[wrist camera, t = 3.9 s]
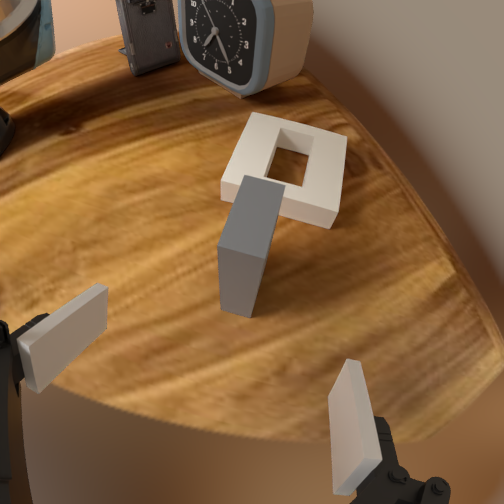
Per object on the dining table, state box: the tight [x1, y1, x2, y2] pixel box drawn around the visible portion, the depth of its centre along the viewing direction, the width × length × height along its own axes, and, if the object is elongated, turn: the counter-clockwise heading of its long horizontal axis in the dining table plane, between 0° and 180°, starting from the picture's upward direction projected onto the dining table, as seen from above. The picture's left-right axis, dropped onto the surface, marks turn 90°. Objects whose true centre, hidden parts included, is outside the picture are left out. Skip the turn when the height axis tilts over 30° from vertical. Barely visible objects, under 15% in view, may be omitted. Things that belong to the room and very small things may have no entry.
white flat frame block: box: [221, 112, 347, 229], centre depth 38 cm, size 13×13×4 cm
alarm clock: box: [178, 0, 314, 99], centre depth 40 cm, size 21×10×22 cm, turn 43°
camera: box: [116, 0, 181, 76], centre depth 46 cm, size 11×17×20 cm, turn 32°
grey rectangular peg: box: [217, 175, 286, 318], centre depth 27 cm, size 3×6×13 cm, turn 165°
